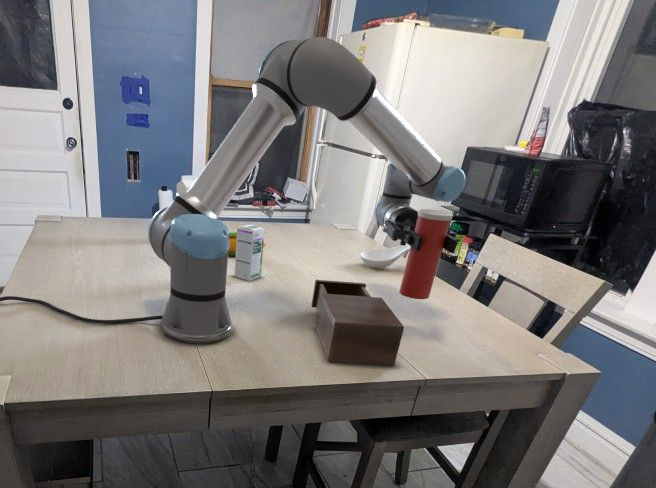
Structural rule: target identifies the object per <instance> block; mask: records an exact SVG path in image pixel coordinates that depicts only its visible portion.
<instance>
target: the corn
mask: <svg viewBox="0 0 656 488" xmlns="http://www.w3.org/2000/svg"><path fill="white" fill-rule="evenodd" d="M236 241H237V232H229V242H230V245H229V250H228V257H231V256H233V257H236ZM266 246H267V244H266V243H265V242H264V243H263V249H264V248H265V247H266Z"/></svg>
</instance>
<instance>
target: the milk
mask: <svg viewBox="0 0 656 488" xmlns="http://www.w3.org/2000/svg"><path fill="white" fill-rule="evenodd" d="M196 179H197V175H195V174H192V175H191V174H188V175H186V174H185V175H181V180H180V181H179V182H178V183H177V184H176V195H177V194H180V193H186V192H188V190H189V189H190V188H191V186H192V185H193V183H194V182H195V180H196Z"/></svg>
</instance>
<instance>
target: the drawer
mask: <svg viewBox="0 0 656 488" xmlns="http://www.w3.org/2000/svg"><path fill="white" fill-rule="evenodd" d="M366 287H367V284H366V283H365V282H353V281H339V280H325V279H315V281H314V286H313V291H312V298H311V299H312V300H311V304H310V305H311V308H315V310H316V313H317V314H318V312H319V306H320V300H321V295H322V293H323V294H337V295H351V296H365V297H372V295H371V294H370V293H369V291H368V290H367V289H366Z"/></svg>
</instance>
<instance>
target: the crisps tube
mask: <svg viewBox="0 0 656 488" xmlns="http://www.w3.org/2000/svg"><path fill="white" fill-rule="evenodd" d="M453 216H454V214H453V213H451V212H448V211H446V210H445V211H444V210H439V209H431V208H422V209H421V208H420V209H418V219H417V223H416V227H415V231H414V232H415V233H417V234H418V235H420V236H421V237H423V240H422V244H421V248H420V251H416V250H415V249H414V248H412V247H410V251H408V255H407V259H406V262H405V263H406V264H405V268H404V272H403V276H402V280H401V284H400V286H399V288H400V289H399V294H400V295H402V296H403V297H406V298H409V299H414V300H428V299H429V298H430V295H431V291H432V287H433V285H434V280H435V277H436V274H437V270H438V266H439V264H440V259H441V256H442V252H443V250H444V248H443V245H444V242H445V238H446V235H447V231H448V230H449V228H450V224H451V221H452V220H453Z"/></svg>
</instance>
